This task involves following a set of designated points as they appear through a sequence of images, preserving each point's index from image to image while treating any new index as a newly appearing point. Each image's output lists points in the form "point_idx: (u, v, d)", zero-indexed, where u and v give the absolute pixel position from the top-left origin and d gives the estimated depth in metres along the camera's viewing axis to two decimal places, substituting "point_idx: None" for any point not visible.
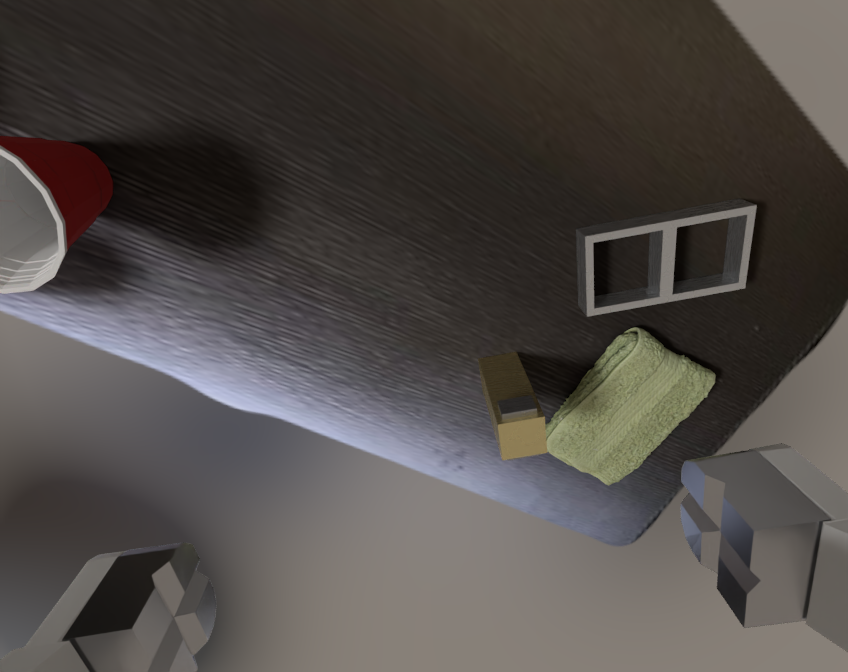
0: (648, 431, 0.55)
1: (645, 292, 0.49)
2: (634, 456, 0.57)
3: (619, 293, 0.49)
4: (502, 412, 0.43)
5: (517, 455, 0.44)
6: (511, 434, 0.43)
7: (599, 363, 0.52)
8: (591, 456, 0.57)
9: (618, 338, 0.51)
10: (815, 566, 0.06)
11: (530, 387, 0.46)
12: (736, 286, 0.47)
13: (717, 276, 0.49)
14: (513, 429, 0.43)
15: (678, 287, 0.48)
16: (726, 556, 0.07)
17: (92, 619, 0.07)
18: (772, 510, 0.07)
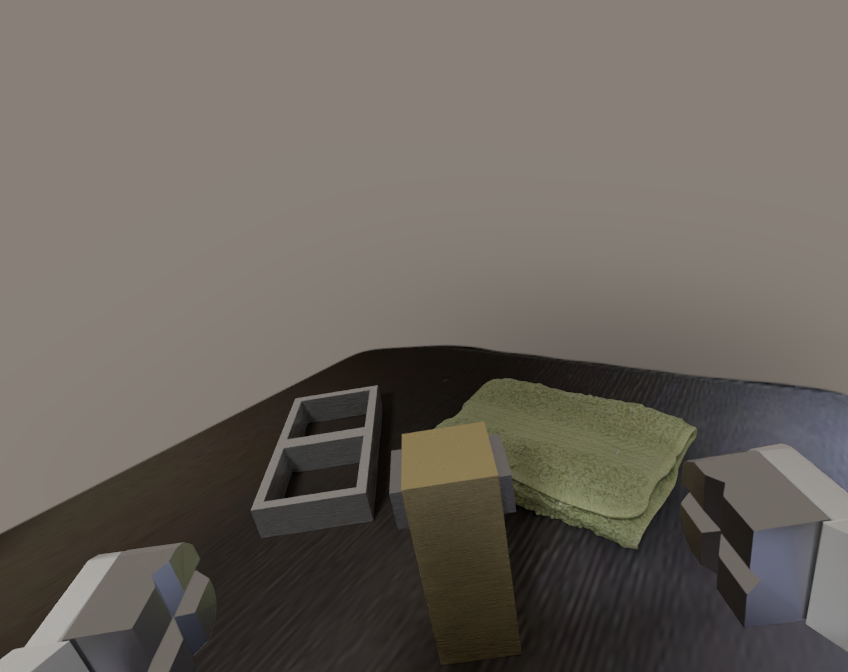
0: (567, 407, 0.39)
1: None
2: (618, 411, 0.38)
3: None
4: (390, 497, 0.21)
5: (487, 455, 0.22)
6: (431, 469, 0.22)
7: None
8: (634, 454, 0.34)
9: None
10: (815, 565, 0.06)
11: None
12: (373, 390, 0.47)
13: None
14: (419, 467, 0.22)
15: None
16: (726, 556, 0.07)
17: (92, 619, 0.07)
18: (772, 510, 0.07)
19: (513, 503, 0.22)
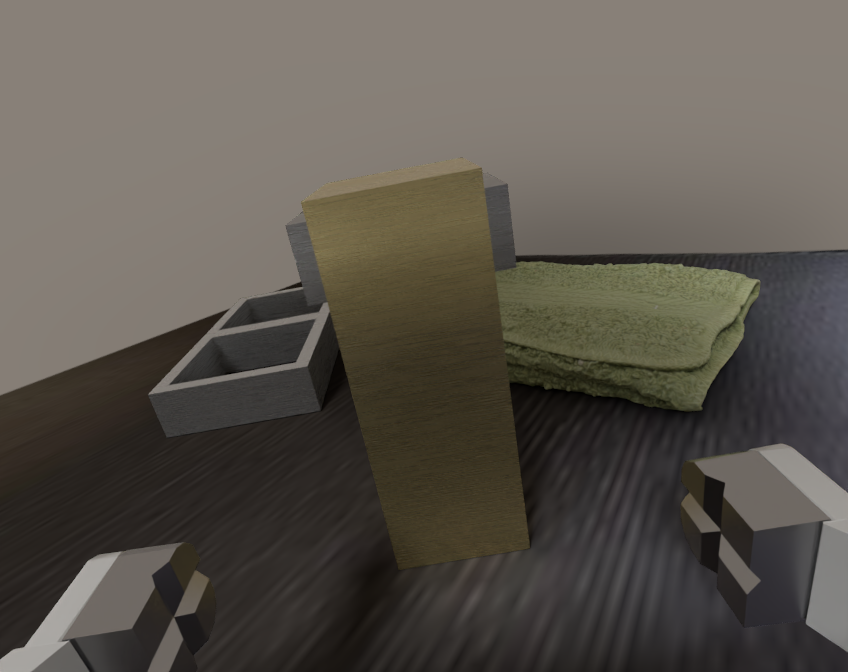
0: (580, 274, 0.30)
1: None
2: (650, 272, 0.28)
3: None
4: (289, 236, 0.12)
5: (463, 165, 0.12)
6: (362, 185, 0.12)
7: None
8: (679, 306, 0.24)
9: None
10: (815, 566, 0.06)
11: None
12: None
13: None
14: (343, 189, 0.12)
15: None
16: (726, 556, 0.07)
17: (92, 619, 0.07)
18: (772, 510, 0.07)
19: (511, 249, 0.12)
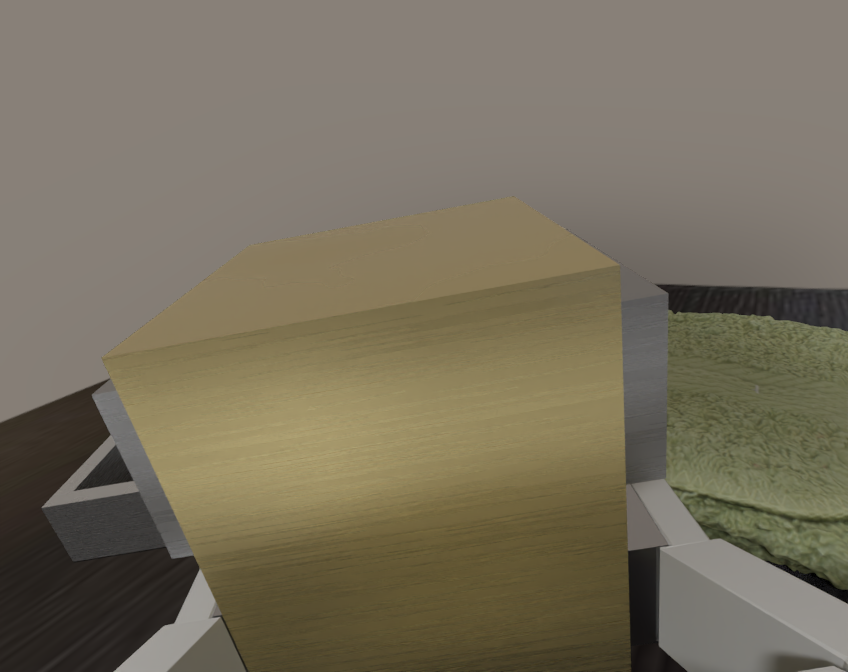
0: None
1: None
2: (730, 327, 0.21)
3: None
4: (107, 415, 0.05)
5: (540, 234, 0.05)
6: (293, 287, 0.05)
7: None
8: (792, 390, 0.17)
9: None
10: (660, 590, 0.07)
11: None
12: None
13: None
14: (250, 290, 0.05)
15: None
16: None
17: None
18: None
19: (658, 440, 0.05)
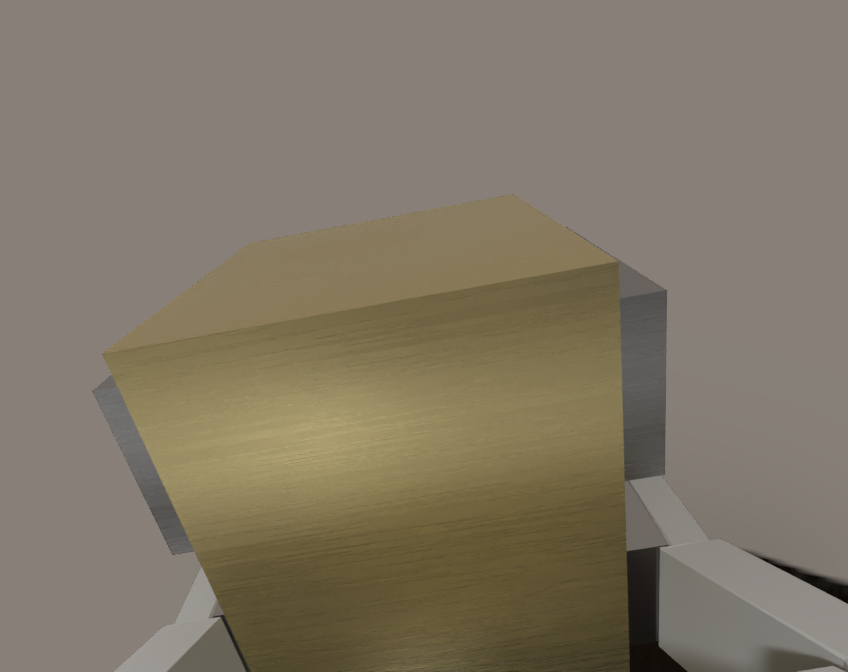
0: None
1: None
2: None
3: None
4: (108, 411, 0.05)
5: (539, 231, 0.05)
6: (293, 284, 0.05)
7: None
8: None
9: None
10: (660, 589, 0.07)
11: None
12: None
13: None
14: (250, 287, 0.05)
15: None
16: None
17: None
18: None
19: (657, 436, 0.05)
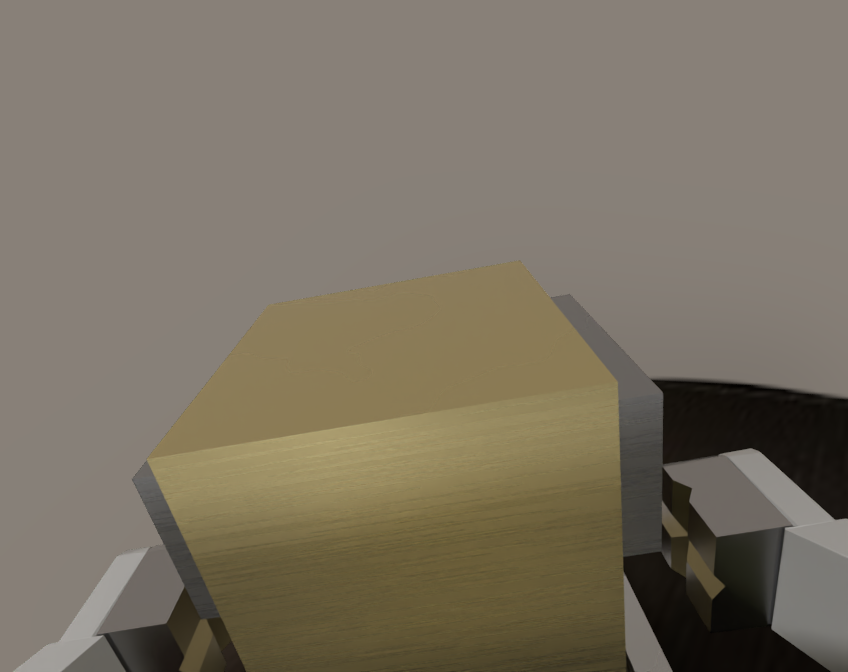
0: None
1: None
2: None
3: None
4: (145, 493, 0.05)
5: (545, 325, 0.05)
6: (316, 376, 0.05)
7: None
8: None
9: None
10: (779, 572, 0.06)
11: None
12: None
13: None
14: (275, 375, 0.05)
15: None
16: (694, 561, 0.07)
17: (125, 614, 0.07)
18: (736, 516, 0.07)
19: (654, 518, 0.05)
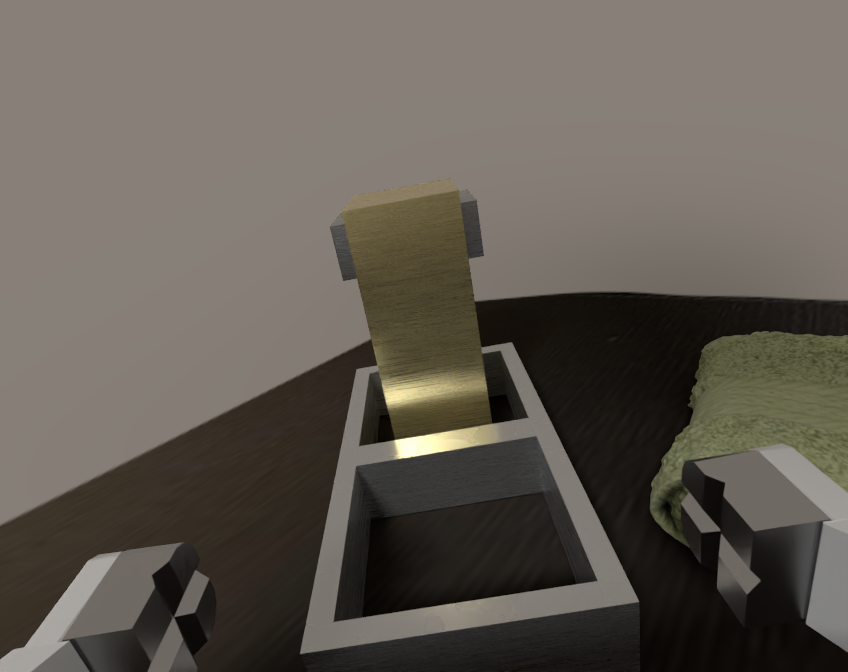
0: None
1: (544, 480, 0.18)
2: None
3: (564, 544, 0.16)
4: (332, 233, 0.18)
5: (448, 186, 0.18)
6: (380, 200, 0.18)
7: None
8: None
9: None
10: (815, 565, 0.06)
11: None
12: (507, 350, 0.24)
13: (508, 394, 0.25)
14: (367, 202, 0.18)
15: None
16: (726, 556, 0.07)
17: (92, 619, 0.07)
18: (772, 510, 0.07)
19: (480, 243, 0.18)
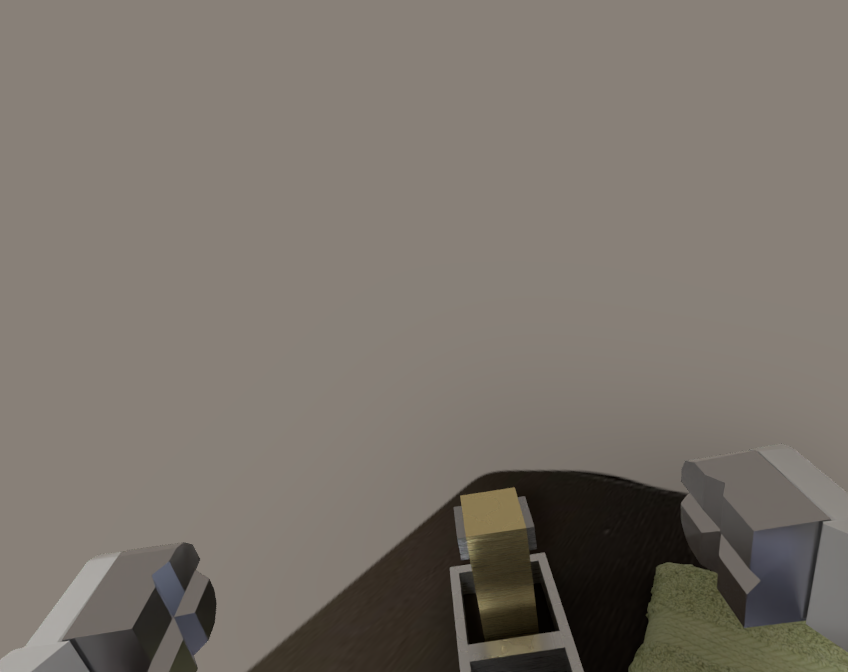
0: (796, 625, 0.33)
1: (569, 671, 0.34)
2: None
3: None
4: None
5: (518, 513, 0.34)
6: (483, 522, 0.34)
7: None
8: None
9: None
10: (815, 565, 0.06)
11: None
12: (543, 561, 0.41)
13: (542, 587, 0.41)
14: (475, 521, 0.34)
15: (556, 627, 0.37)
16: (726, 556, 0.07)
17: (92, 620, 0.07)
18: (772, 510, 0.07)
19: (535, 543, 0.34)
